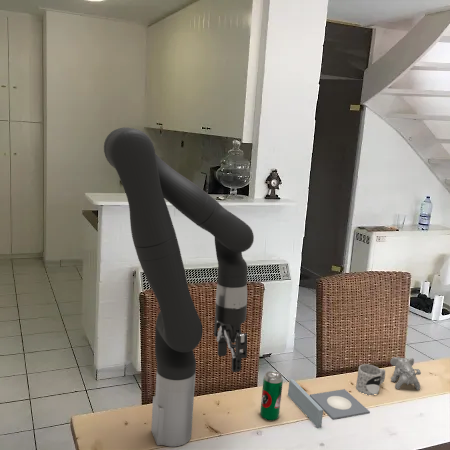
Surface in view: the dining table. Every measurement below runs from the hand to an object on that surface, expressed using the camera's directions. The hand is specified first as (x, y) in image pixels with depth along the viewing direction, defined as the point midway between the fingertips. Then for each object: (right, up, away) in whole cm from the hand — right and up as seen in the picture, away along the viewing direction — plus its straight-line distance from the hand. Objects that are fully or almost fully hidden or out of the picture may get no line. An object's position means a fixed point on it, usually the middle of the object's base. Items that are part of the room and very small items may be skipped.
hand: (228, 363), depth 124 cm
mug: (+43, -16, +28) cm, 54 cm away
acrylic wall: (+21, -17, +14) cm, 30 cm away
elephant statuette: (+54, -15, +33) cm, 65 cm away
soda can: (+11, -17, +10) cm, 22 cm away
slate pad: (+31, -17, +18) cm, 40 cm away
